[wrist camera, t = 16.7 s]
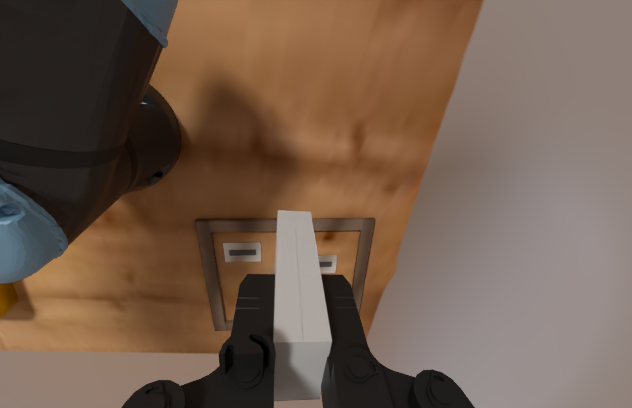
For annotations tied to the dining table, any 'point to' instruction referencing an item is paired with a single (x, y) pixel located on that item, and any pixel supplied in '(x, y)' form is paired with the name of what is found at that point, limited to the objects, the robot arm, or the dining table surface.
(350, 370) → the robot arm
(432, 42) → the dining table surface
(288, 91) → the dining table surface
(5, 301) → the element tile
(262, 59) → the dining table surface
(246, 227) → the label frame
